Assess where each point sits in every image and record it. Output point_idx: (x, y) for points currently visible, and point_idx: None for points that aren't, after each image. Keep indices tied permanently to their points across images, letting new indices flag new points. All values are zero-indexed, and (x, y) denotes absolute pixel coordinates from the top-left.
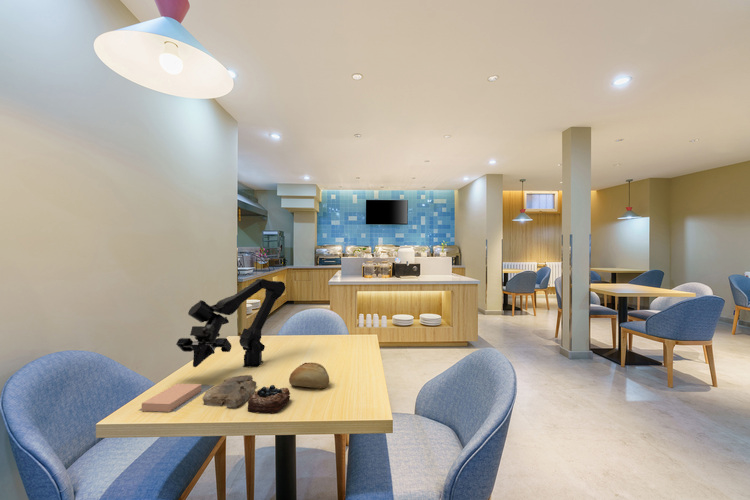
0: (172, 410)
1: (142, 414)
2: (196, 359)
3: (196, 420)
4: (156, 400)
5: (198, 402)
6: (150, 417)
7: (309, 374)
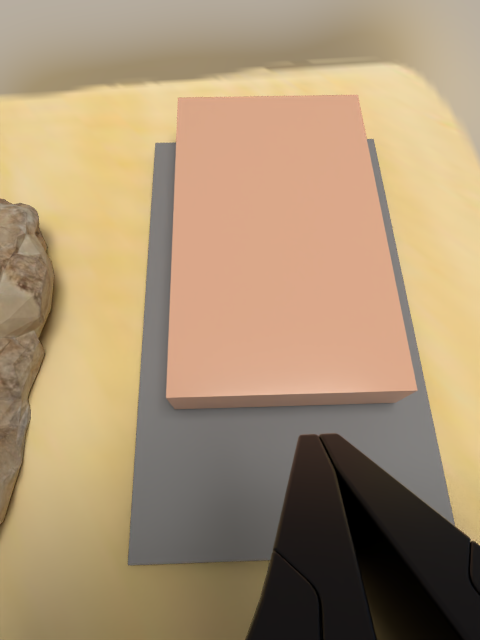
0: None
1: None
2: (341, 499)
3: (6, 108)
4: (299, 125)
5: (103, 268)
6: None
7: None
